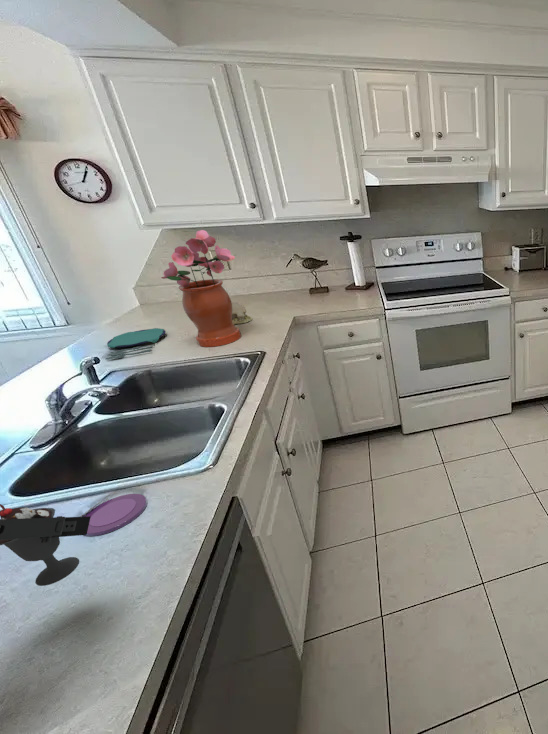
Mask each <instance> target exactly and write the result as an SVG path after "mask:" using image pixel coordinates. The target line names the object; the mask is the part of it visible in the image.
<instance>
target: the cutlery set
mask: <svg viewBox="0 0 548 734" xmlns="http://www.w3.org/2000/svg"><path fill="white" fill-rule="evenodd" d="M165 334H166V330H165V328H160V327H159V328H158V327H154V328H147V329H140V330H136V331H128V332H127V331H126V332H124V333H121V334H119V335H115V336H113V337H112V338H111V339H110V340H108V341H107V343H106V346H107V347H108V348H110V349H117V348H124V349H120V350H113V351H110V352H109V353H107V355H106V356H107V357H105V358H104V360H113V359H119V358H124V357H126V356H133V355H140V354H145V353H151V352H152V349H154V347H156V345H155V344H157V342H158V341H159V339H160V338H162V337H163V336H165ZM147 343H152V344H150V345H144V346H140V345H143V344H147ZM138 345H139V346H138ZM134 346H136V347H134ZM127 347H131V348H127Z"/></svg>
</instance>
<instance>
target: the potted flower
mask: <svg viewBox="0 0 548 734" xmlns="http://www.w3.org/2000/svg"><path fill="white" fill-rule="evenodd" d="M216 243H217V240H216V238H215V237H213V236H211V235H210V234H209V233H208V231H206V230H204V229H200V230H197V231H196V234H195V237H193V238H192V237H191V238H189V239H188V240H187V241H186V242H185V245H179V246H177V247H175V248H174V252H172V254H171V256H170V257H171V259H172V261H171V262H170V261H169V262H168V267H169V268H166V269H165V270H164V271H163V273H162V275H163V276H161V277H160V278H161V279H163V280H165V279H168V280H170V281H176V283H177V284H178V285H179V286H178V288H177V289H178V290H179V291H181V292H182V296H181V304H182V308H183V310H184V313H185V314H186V317H188V319H189V320H190V321H191V322H192V323H193V324H194V326H195V328H196V329H197V335H196V336H195V339H196V342H197V344H198V346H200V347H202V348H214V347H219V346H224V345H228V344H231V343H233V342H236V341H238V340H239V339H241V337H242V333H241V331H240V327H238V326H236V324H233V322H232V310H233V308H232V303H233V302H232V298H231V297H230V295H229V293H228V292H227V290H225V288H224V286H223V283H224V281H223V279H218V278H217V279H216V278H214V276H213V274H212V272H213V273H215V274H221V273H222V272H223V270H225V264H223V262H232V261H233V260H235V258H236V257H235V255H232V252H231V250H230V249H229V248H223V247H220V246H219V245H218V244H216ZM215 244H216V245H215ZM186 245H187V246H188V247H187V246H186ZM212 247H214V252H215V255H216V256H214V257H212V258H210V259H208V257H207V255H206V254H208V253H209V248H212ZM199 252H200V253H202V254H203V255H204V256H200V253H199ZM175 263H176V264H177V265H178V266H182V267H187V268H190V269H191V272H192V275H193V278H194V280H193V279H191V278H190V277H189V275H191V272H190V271H188V270H178V267H177V266H176V265H175ZM197 266H198V269H193V268H192V267H197ZM201 267H203V268H201ZM205 268H206V269H205ZM204 269H205V271H206V274H207V276H209V277H211V278H209V279H204V276H203V274H205V271H202V270H204ZM194 272H200V274H201V278H202V279H201V280H197V279H196V277H195V274H194Z"/></svg>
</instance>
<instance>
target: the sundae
mask: <svg viewBox="0 0 548 734" xmlns="http://www.w3.org/2000/svg"><path fill="white" fill-rule="evenodd" d="M0 508H1V509H2V510H0V519H26V518H50V517H55V514H56V509H55V508H54V507H39V508H38V507H37V508H33V509H32V508H30V507H25V506H22V507H14V508H10V507H6V508H5V506H4V505H3V504H0ZM41 541H42V538H41V539H40V537H38V538H25V539H13V540H0V546H3V545H4V546H5V547H7V548H8V549H9V550H10V551H11V552H13V553H14V554H15V555H16V556H18V557H19V558H20V559H22V560H23V561H25V562H38V561H39V562H40V561H42V562H43V563H44V564H45V566H46V567H45V568H44V569H43V570H42V571H40V572H39V573H38V575H37V576H36V578H35V584H36V585H37V586H40V587H45V586H49V585H53V584H55V583H57V582H60V581H62V580H64V579H65V578H67V577H68V576H70V575H71V574H72V573H73V572H74V571H75V570H76V569H77V568H78V566H79V564H80V559H79V558H78V557H76V556H68V557H65V558H62V559H60V560H59V559H58V558H56V557H55V555H54V554H55V553H56V551H57V550H58V547H59V546H60V544H61V541H60V537H53V538H51V541H50V542H45V543H41Z"/></svg>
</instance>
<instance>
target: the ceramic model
mask: <svg viewBox="0 0 548 734" xmlns="http://www.w3.org/2000/svg"><path fill="white" fill-rule="evenodd" d="M232 308H233V310H232V322H233V324H234V325H238V324H239V325H240V324H244V323H245V324H246V323H249V322H251V321H253V318H252V317H251V316H250V315H248V314H247V309H246V306H245V305H243V304H241V303H239V302H238V301H234V302H232Z"/></svg>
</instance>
